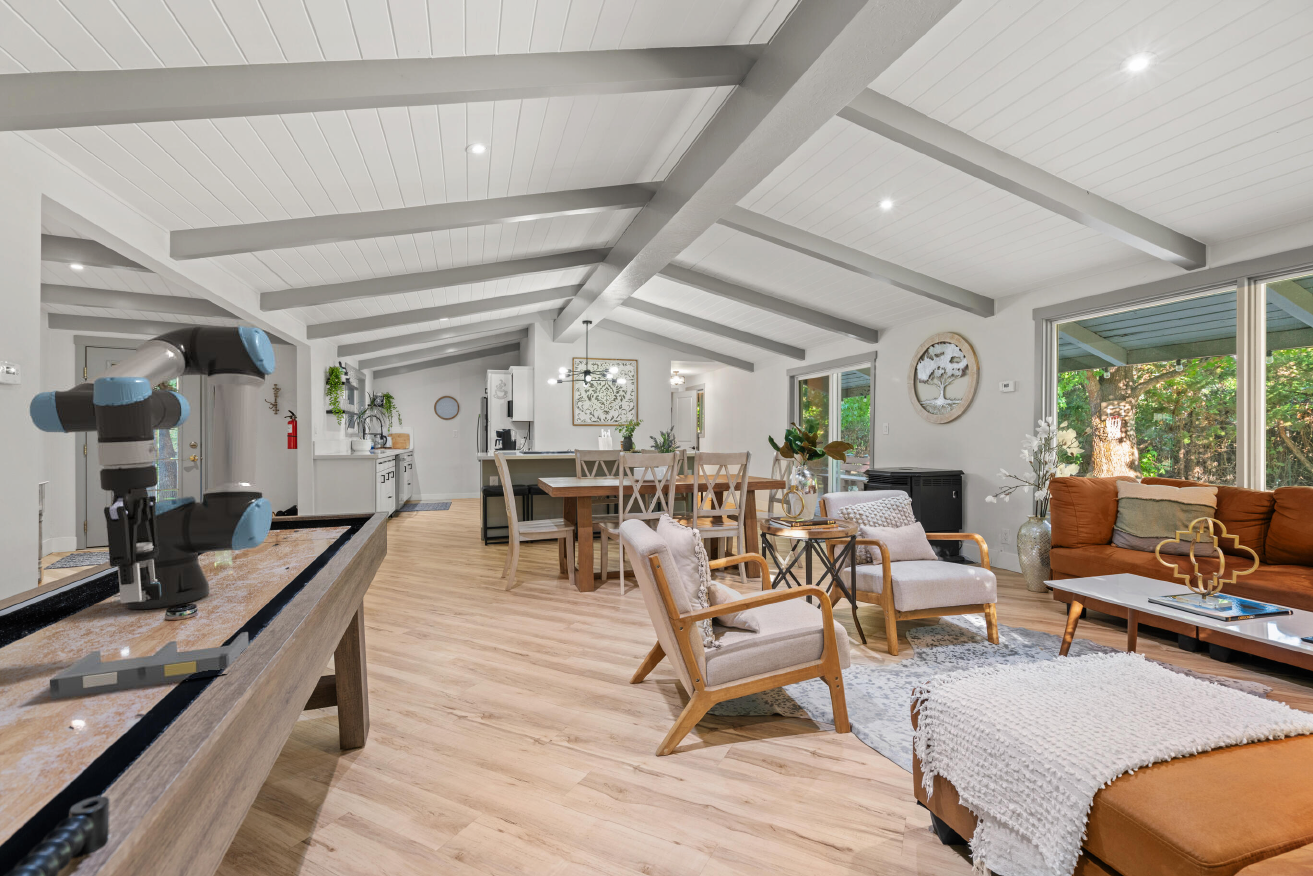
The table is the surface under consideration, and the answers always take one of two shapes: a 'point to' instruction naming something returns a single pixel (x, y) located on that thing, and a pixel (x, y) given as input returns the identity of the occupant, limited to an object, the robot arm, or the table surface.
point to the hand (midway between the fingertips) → (138, 596)
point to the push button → (147, 572)
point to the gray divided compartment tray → (141, 669)
